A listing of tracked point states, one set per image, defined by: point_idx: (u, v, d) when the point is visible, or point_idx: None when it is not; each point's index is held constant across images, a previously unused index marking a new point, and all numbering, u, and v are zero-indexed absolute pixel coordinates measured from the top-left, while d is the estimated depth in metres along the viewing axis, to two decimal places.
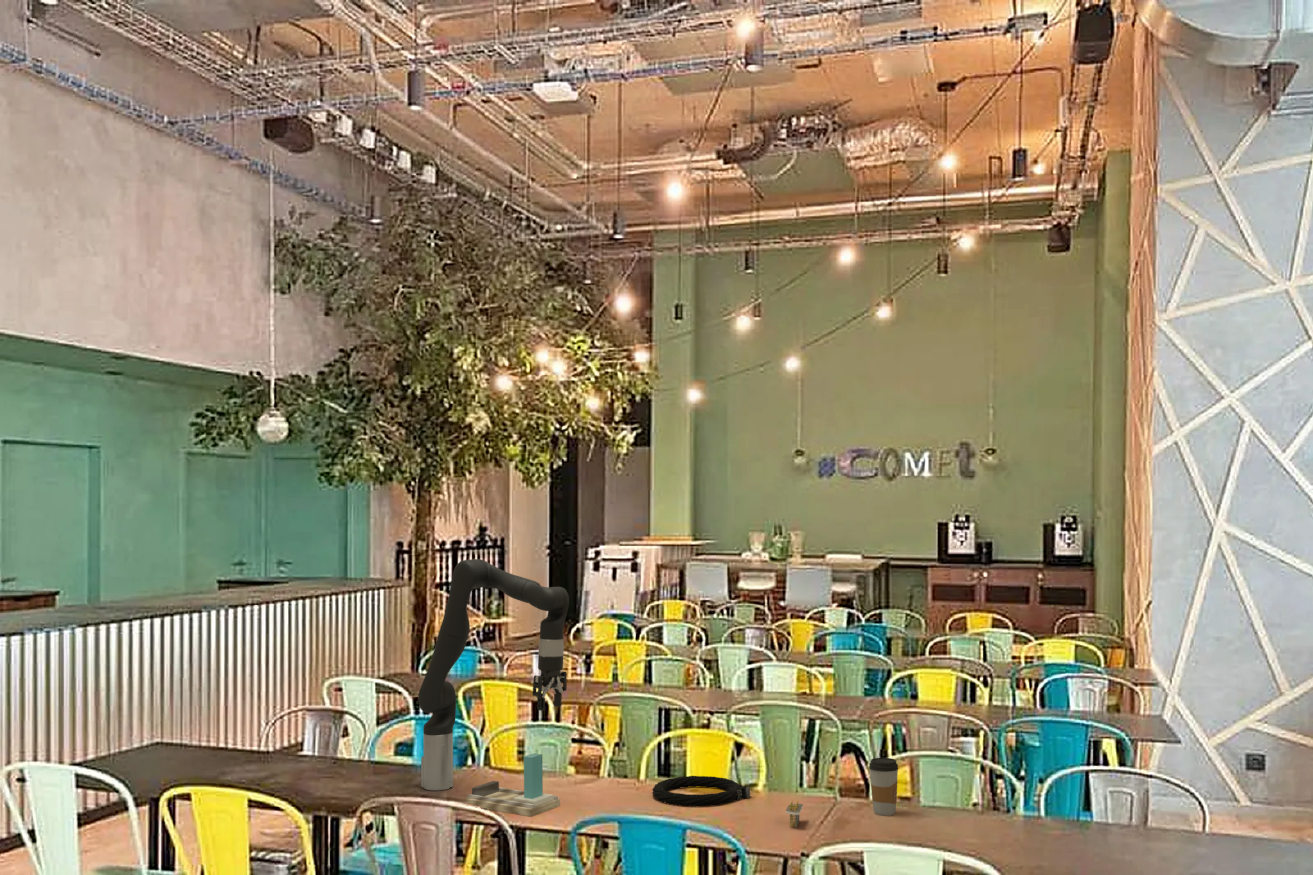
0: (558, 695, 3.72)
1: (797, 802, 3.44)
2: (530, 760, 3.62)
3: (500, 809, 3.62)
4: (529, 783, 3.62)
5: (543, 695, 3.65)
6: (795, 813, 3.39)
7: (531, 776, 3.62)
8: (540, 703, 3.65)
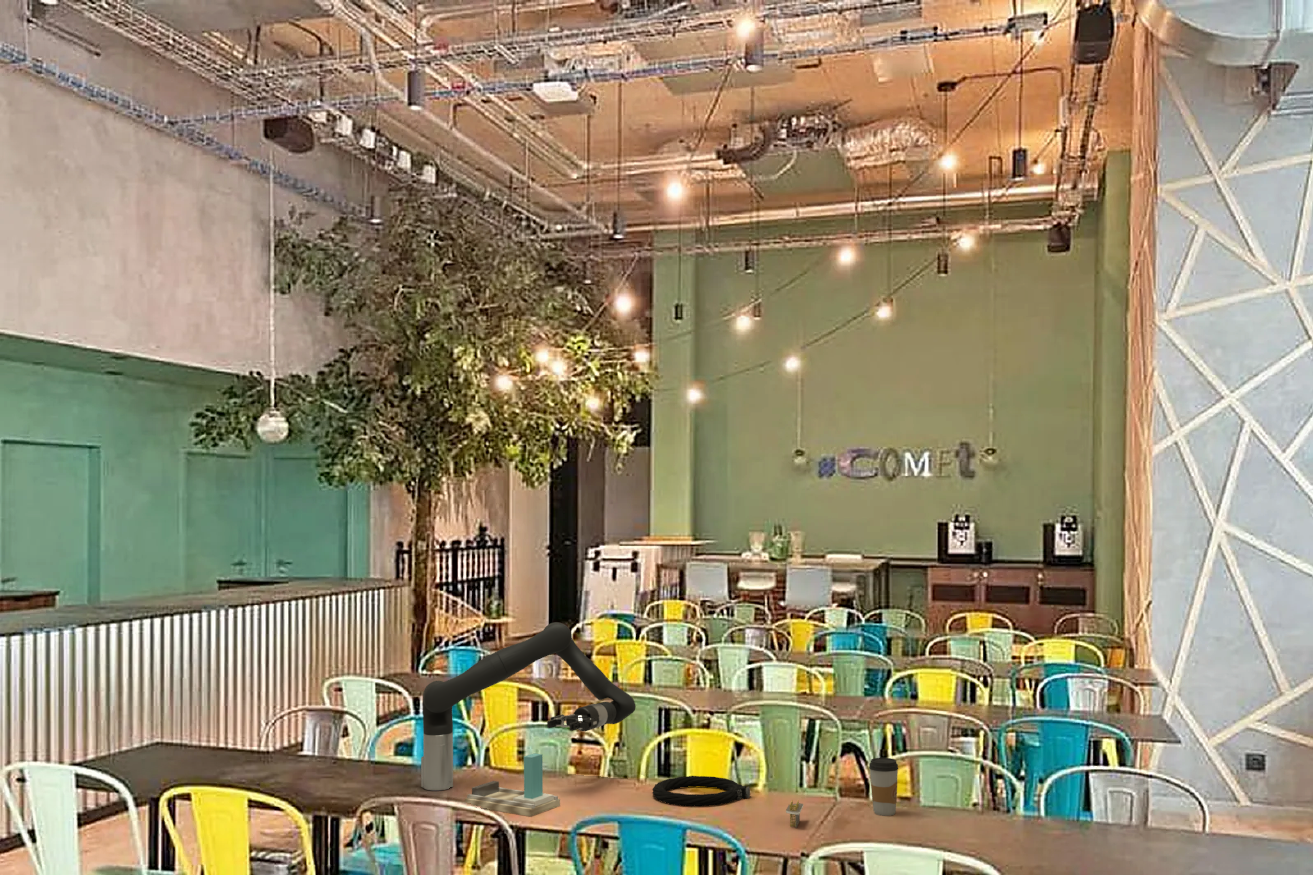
0: (555, 725, 3.80)
1: (797, 802, 3.45)
2: (530, 760, 3.62)
3: (500, 809, 3.62)
4: (529, 783, 3.62)
5: None
6: (795, 813, 3.39)
7: (531, 776, 3.62)
8: (577, 727, 3.75)
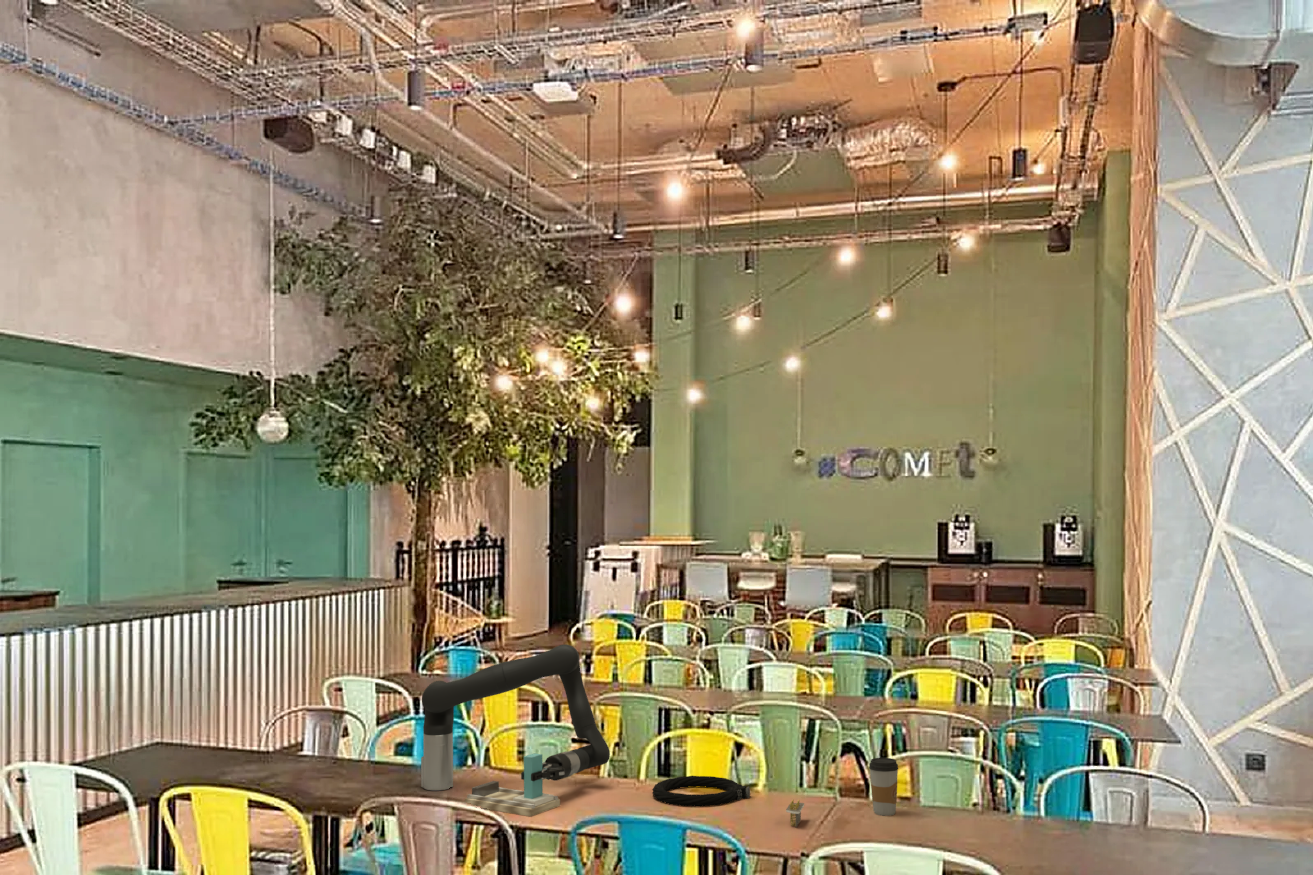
0: None
1: (798, 801, 3.45)
2: (530, 760, 3.62)
3: (500, 809, 3.62)
4: (529, 783, 3.62)
5: None
6: (795, 812, 3.40)
7: None
8: (539, 778, 3.62)
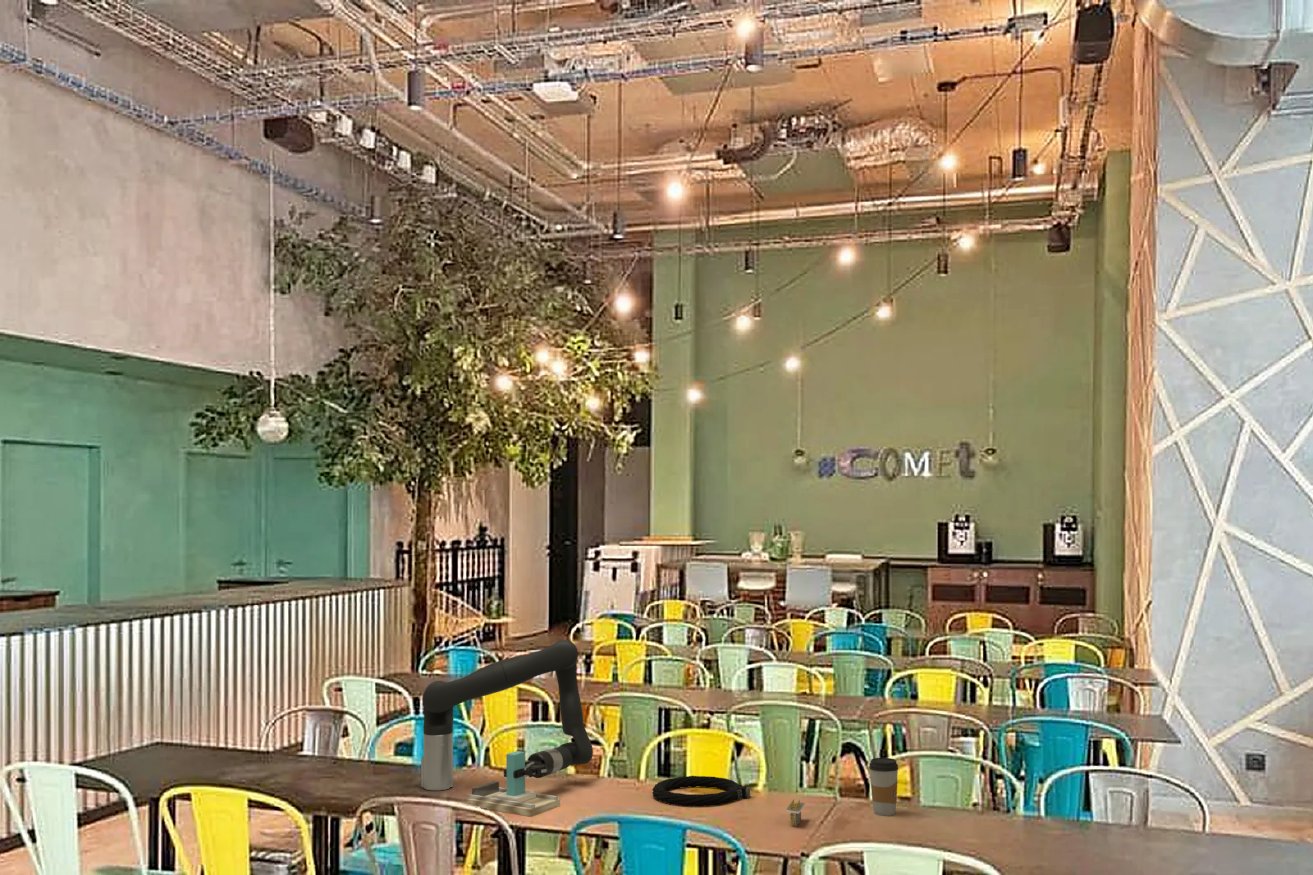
0: None
1: (798, 801, 3.46)
2: (513, 758, 3.65)
3: (500, 809, 3.62)
4: (512, 781, 3.65)
5: None
6: (795, 812, 3.40)
7: None
8: (521, 775, 3.66)
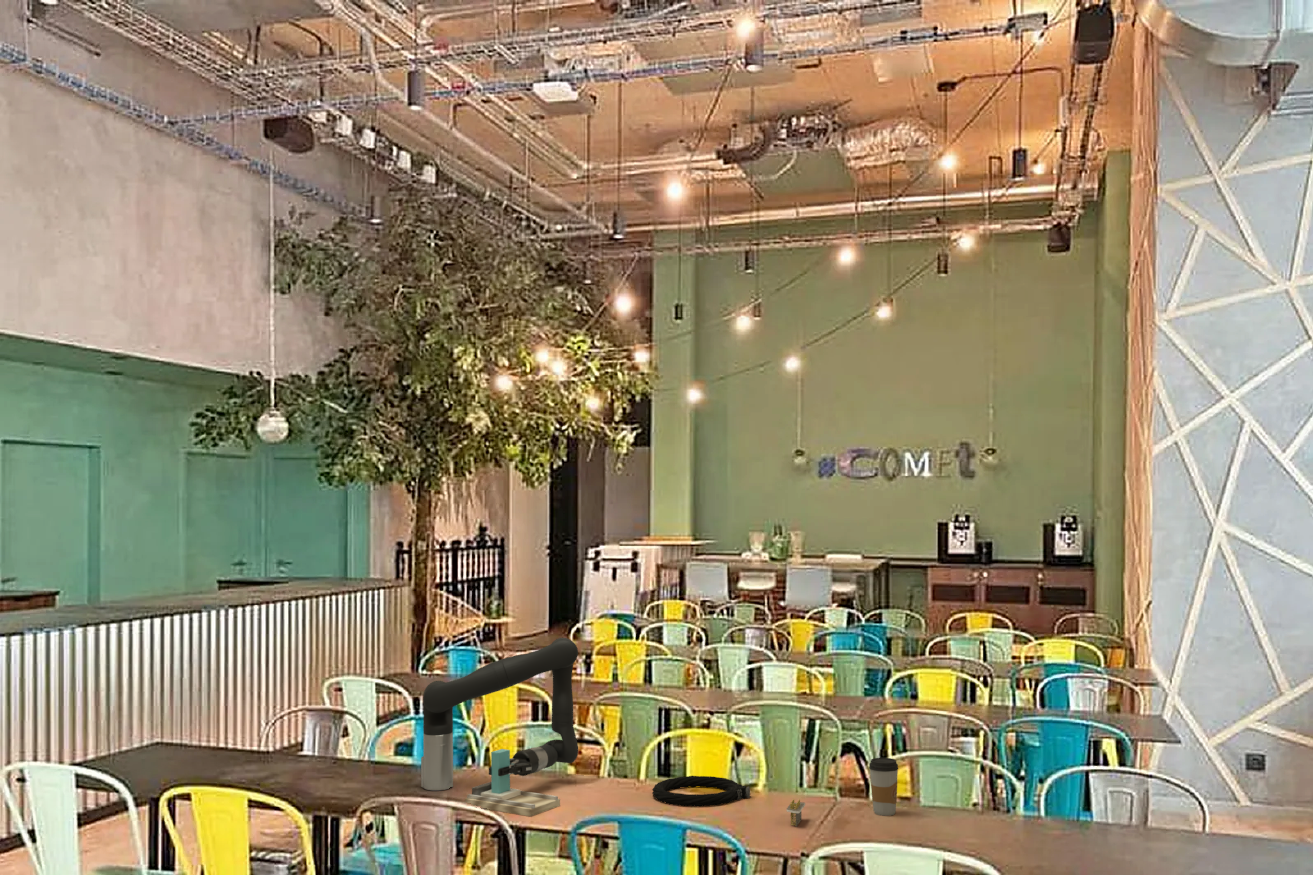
0: None
1: (798, 801, 3.46)
2: (498, 756, 3.68)
3: (500, 809, 3.62)
4: (496, 778, 3.68)
5: None
6: (795, 811, 3.41)
7: None
8: (506, 773, 3.69)
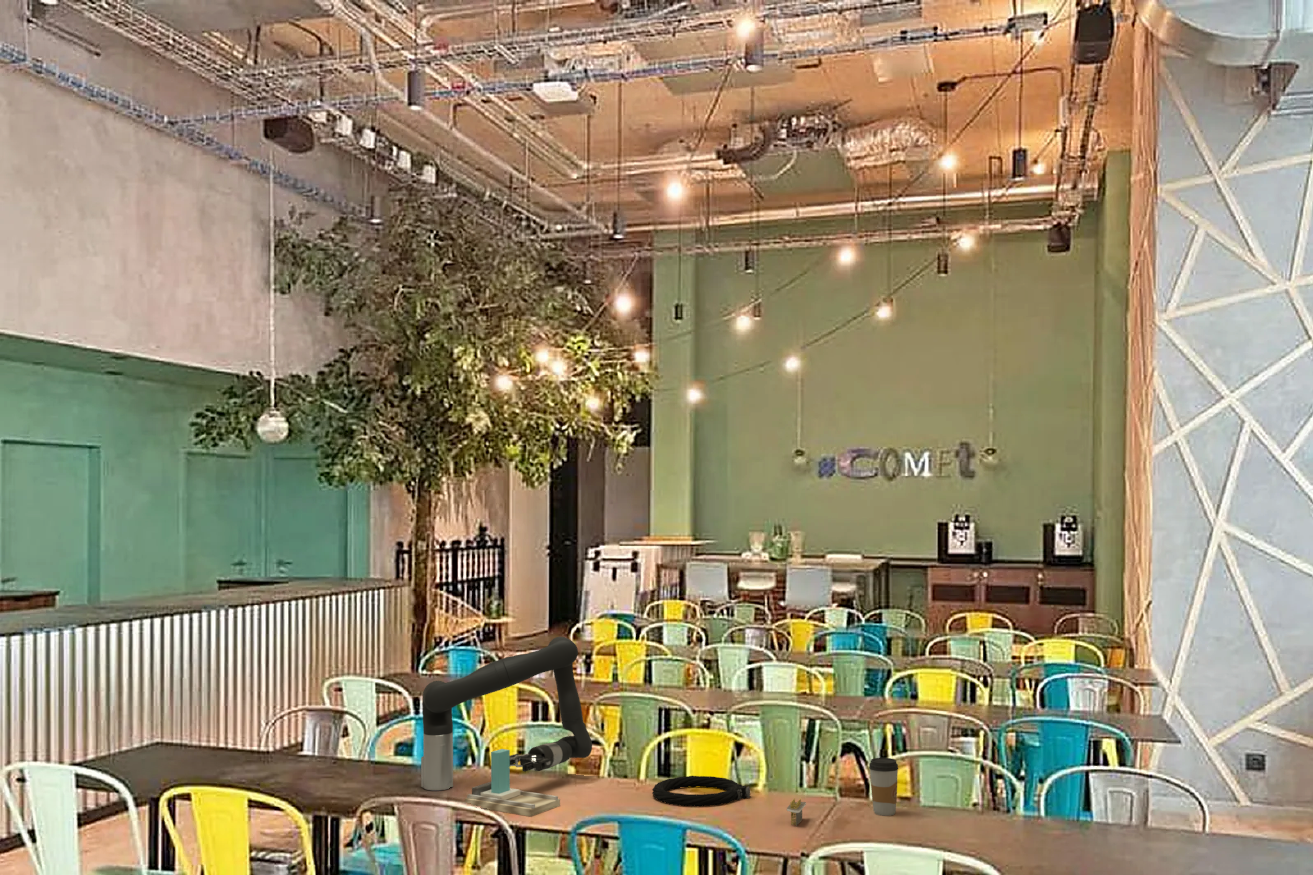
0: None
1: (799, 800, 3.46)
2: (497, 756, 3.68)
3: (500, 809, 3.62)
4: (496, 778, 3.68)
5: None
6: (795, 811, 3.41)
7: (498, 771, 3.68)
8: (530, 768, 3.75)
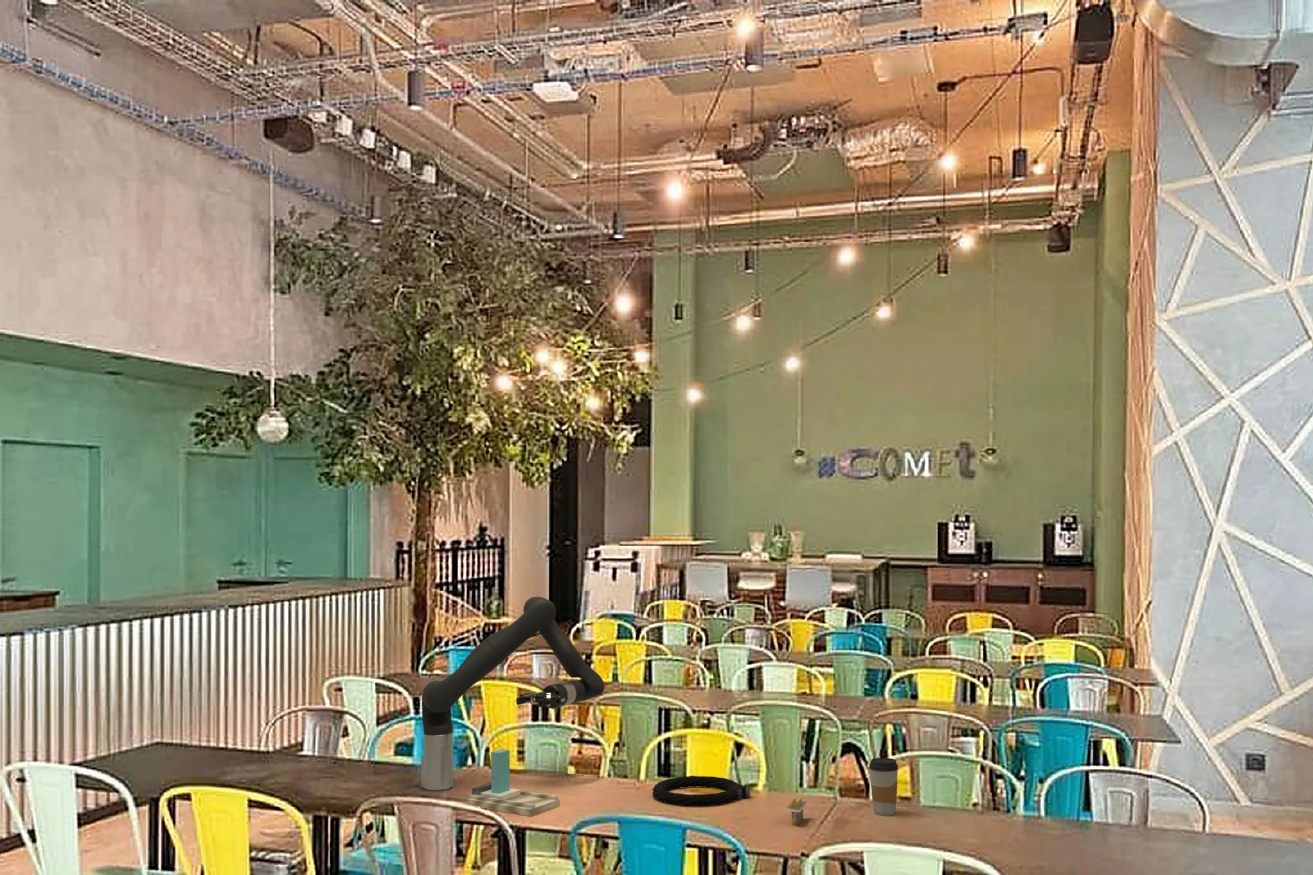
0: (524, 702, 3.89)
1: (799, 800, 3.47)
2: (497, 756, 3.68)
3: (500, 809, 3.62)
4: (496, 778, 3.68)
5: None
6: (795, 810, 3.42)
7: (498, 771, 3.68)
8: (545, 704, 3.83)
